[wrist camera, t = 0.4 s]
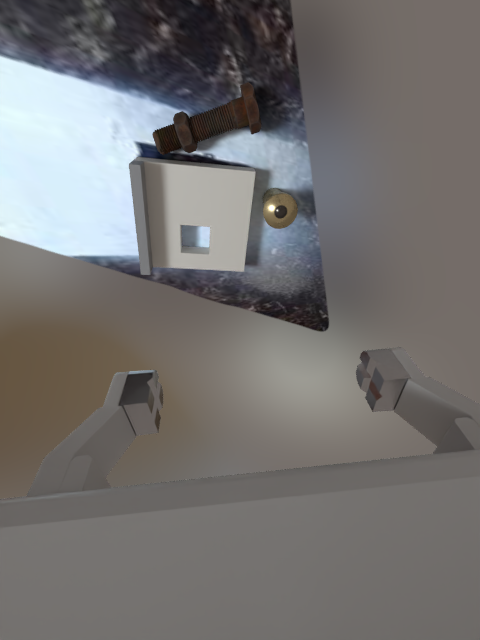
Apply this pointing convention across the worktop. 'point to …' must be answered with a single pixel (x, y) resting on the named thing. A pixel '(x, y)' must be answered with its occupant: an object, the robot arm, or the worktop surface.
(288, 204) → the bushing
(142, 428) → the robot arm
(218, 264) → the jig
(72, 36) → the worktop surface
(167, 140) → the bolt
